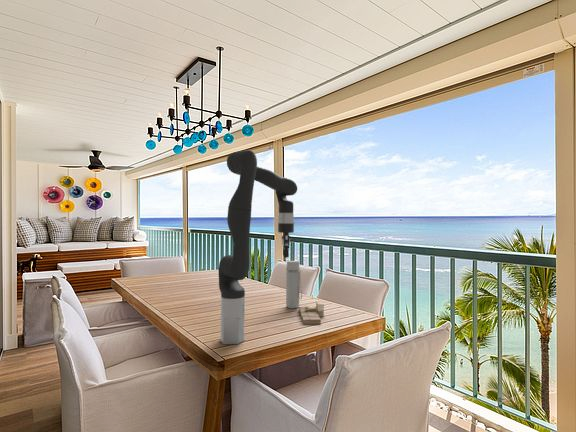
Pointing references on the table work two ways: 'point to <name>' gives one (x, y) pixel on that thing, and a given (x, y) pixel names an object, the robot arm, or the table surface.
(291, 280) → the water bottle
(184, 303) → the table surface
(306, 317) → the plank
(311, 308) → the gauge
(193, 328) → the table surface
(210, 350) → the table surface
